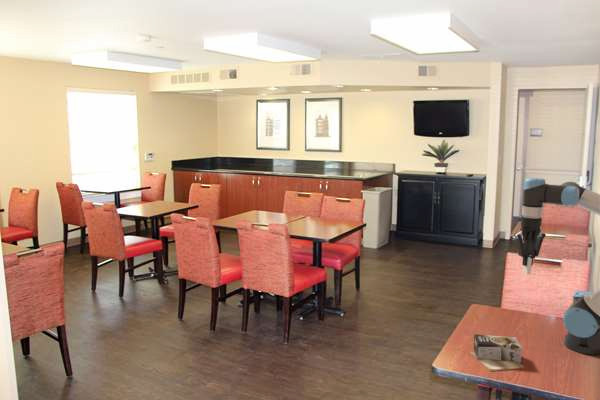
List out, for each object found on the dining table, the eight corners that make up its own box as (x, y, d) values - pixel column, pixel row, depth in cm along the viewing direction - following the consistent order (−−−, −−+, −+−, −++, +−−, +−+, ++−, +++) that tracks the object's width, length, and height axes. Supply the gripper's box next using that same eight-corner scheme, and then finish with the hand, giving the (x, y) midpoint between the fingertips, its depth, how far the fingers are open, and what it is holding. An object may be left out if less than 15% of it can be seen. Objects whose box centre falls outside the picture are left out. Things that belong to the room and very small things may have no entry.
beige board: (502, 351, 202) (502, 349, 202) (523, 367, 189) (523, 366, 189) (470, 353, 200) (470, 352, 200) (489, 370, 186) (489, 369, 186)
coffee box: (522, 347, 191) (478, 343, 193) (520, 362, 192) (476, 359, 194) (516, 336, 199) (473, 333, 202) (514, 351, 201) (472, 348, 203)
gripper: (539, 214, 206) (534, 269, 210) (511, 215, 204) (506, 271, 208) (552, 217, 199) (547, 275, 203) (523, 218, 196) (518, 276, 200)
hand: (526, 273), depth 205 cm, fingers closed
